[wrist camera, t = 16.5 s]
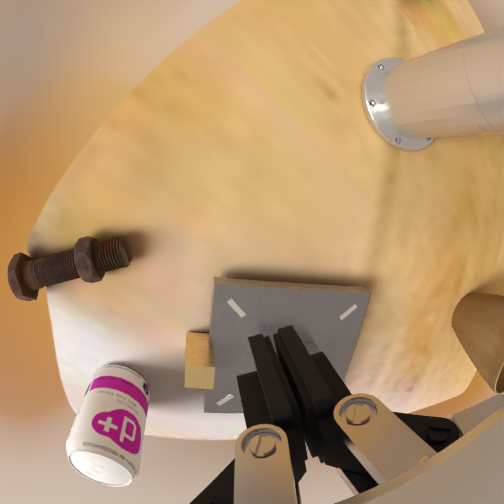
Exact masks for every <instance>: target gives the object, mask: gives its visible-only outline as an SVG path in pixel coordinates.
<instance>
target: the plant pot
mask: <svg viewBox="0 0 504 504" xmlns="http://www.w3.org/2000/svg"><path fill="white" fill-rule="evenodd" d="M452 327H453V329H454V331H455V333H456V335H457V337H458V339H459V341H460V343H461V344H462V346H463V348H464V350H465V351H466V353H467V355H468V356H469V358H470V359H471V361H472V362H473V364H474V365H475V367H476V368H477V370H478V371H479V372H480V374H481V375H482V377H483V378H484V379H485V381H486V382H487V383H488V385H489V386H490V387H491V388H492V389H493V391H494V392H495V393H496V394H497V395H499V394H502V393H504V296H500V295H492V294H468V295H466V296H465V297H464V298H463V299H462V300H461V301H460V302H459V304H458V305H457V307H456V309H455V311H454V314H453V317H452Z"/></svg>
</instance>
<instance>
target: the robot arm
mask: <svg viewBox="0 0 504 504" xmlns="http://www.w3.org/2000/svg"><path fill="white" fill-rule="evenodd" d="M362 100H363V105H364V109H365V112H366V114H367V117H368V119H369V121H370V123H371V125H372V126H373V128H374V129H375V130H376V132H377V133H378V134H379V135H380V136H381V137H382V139H383V140H385V141H386V142H387V143H388V144H390V145H391V146H393V147H395V148H397V149H400V150H404V151H417V150H421V149H424V148H425V147H427V146H428V145H430V143H431V142H432V141H433V140H434V138H435V137H449V136H474V135H504V27H501V28H498V29H495V30H492V31H489V32H486V33H483V34H480V35H476V36H473V37H471V38H468V39H465V40H461V41H459V42H456V43H453V44H450V45H448V46H445V47H442V48H440V49H437V50H435V51H432V52H429V53H427V54H424V55H422V56H419V57H417V58H415V59H412V60H410V61H404V60H402V59H398V58H385V59H381V60H379V61H377V62H375V63H374V64H373V65H372V66H370V67H369V69H368V70H367V72H366V73H365V76H364V79H363V83H362ZM277 331H278V333H276V334H273V338H274V343H275V347H276V352H277V354H276V352H275V349H274V347H273V344H272V342H271V340H270V337H269V336H265V337H263V335H262V333H261V334H258V335H254V336H250V337H248V340H249V344H250V348H251V352H252V355H253V359H254V363H255V366H256V370H257V371H253V372H249V373H245V374H241V375H237V382H238V387H239V392H240V397H241V402H242V407H243V412H244V417H245V422H246V426H247V429H246V430H245V431H244V432H243V433H241V434H240V436H239V437H238V439H237V441H236V445H235V459H234V460H233V461H232V462H231V463H230V464H229V465H228V466H227V467H226V468H225V469H224V470H223V471H222V472H221V473H220V474H219V475H218V476H217V478H215V480H213V481H212V483H210V484H209V485H208V486H207V487H206V488H205V489H204V490H203V491H202V492H201V493H200V494H199V495H198V496H197V497H196V498H195V499H194V500H193V501H192V502H191V503H190V504H302V502H301V495H300V489H299V483H298V482H299V481H300V480H301V478H302V477H303V475H304V474H305V472H306V466H305V460H307V459H308V458H307V451H306V445H305V442H306V444H307V446H308V449H309V451H310V454H311V456H312V457H313V458H314V457H317V456H318V457H319V460H320V462H321V463H323V462H325V464H326V465H329V466H333V467H336V470H337V472H338V474H339V475H340V476H341V477H342V479H343V480H344V482H345V483H346V484H347V486H348V487H349V488H350V490H351V491H352V492H353V494H354V495H355V496H353V497H351V498H348V499H345V500H343V501H340V502H338V503H335V504H504V394H499V395H496V396H493V397H491V398H489V399H487V400H485V401H483V402H481V403H478V404H476V405H474V406H472V407H470V408H467V409H465V410H463V411H460V412H458V413H456V414H453V416H452V418H450V419H446V418H442V417H430V416H421V415H413V414H405V413H398V412H392V411H391V410H389V409H388V408H387V407H386V406H385V405H384V404H383V403H382V402H381V401H380V400H379V399H377V398H376V397H374V396H372V395H369V394H361V393H359V394H351V393H350V391H349V390H348V388H347V387H346V385H345V384H344V382H343V381H342V379H341V378H340V376H339V375H338V373H337V372H336V370H335V369H334V367H333V366H332V364H331V363H330V361H329V360H328V358H327V357H326V355H325V354H324V353H323V352H322V351H321V352H318V353H315V354H311V355H310V354H309V353H308V351H307V349H306V348H305V346H304V344H303V342H302V341H301V339H300V337H299V336H298V334H297V332H296V331H295V329H294V327H293V326H292V325H290V326H286V327H283V328H279V329H277Z"/></svg>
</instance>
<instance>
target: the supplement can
mask: <svg viewBox="0 0 504 504" xmlns="http://www.w3.org/2000/svg"><path fill="white" fill-rule="evenodd" d="M149 398H150V390H149V386H148V384H147V383H146V381H145V380H144V378H143V377H142V376H140V375H139V374H138V373H137V372H135V371H134V370H131V369H129V368H127V367H125V366H120V365H115V364H113V365H104V366H103V367H101V368H99V369H97V371H96V372H95V374H94V375H93V377H92V380H91V382H90V384H89V387H88V389H87V391H86V394H85V396H84V398H83V401H82V403H81V406H80V408H79V411H78V413H77V416H76V418H75V421H74V424H73V426H72V429H71V431H70V434H69V437H68V440H67V442H66V448H67V453H68V461H69V463H70V465H71V466H72V467H73V469H74V470H76V471H77V472H78V473H79V474H80V475H82V476H84V477H85V478H87V479H89V480H91V481H94V482H96V483H99V484H102V485H106V486H113V487H122V486H127V485H128V484H130V483H131V482H132V479H133V478H134V477H135V476H136V475H137V474H138V472H139V468H140V460H141V451H142V444H143V437H144V430H145V423H146V417H147V411H148V404H149Z"/></svg>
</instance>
